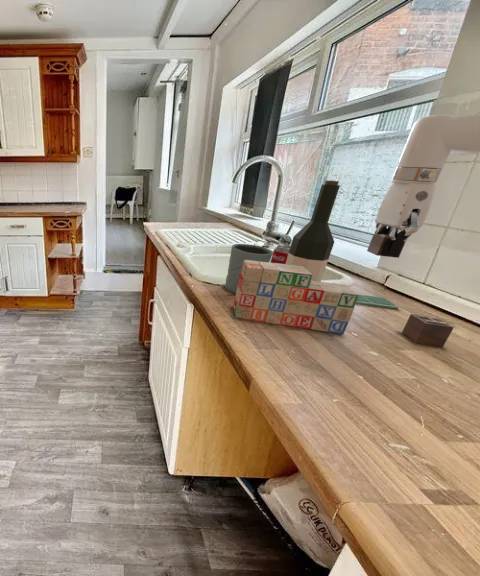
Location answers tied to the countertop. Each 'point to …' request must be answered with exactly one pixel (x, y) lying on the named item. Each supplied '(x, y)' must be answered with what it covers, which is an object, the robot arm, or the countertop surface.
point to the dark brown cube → (379, 244)
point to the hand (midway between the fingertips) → (382, 252)
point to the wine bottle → (315, 235)
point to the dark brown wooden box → (427, 330)
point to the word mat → (375, 301)
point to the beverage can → (280, 254)
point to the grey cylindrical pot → (237, 259)
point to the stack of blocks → (292, 298)
